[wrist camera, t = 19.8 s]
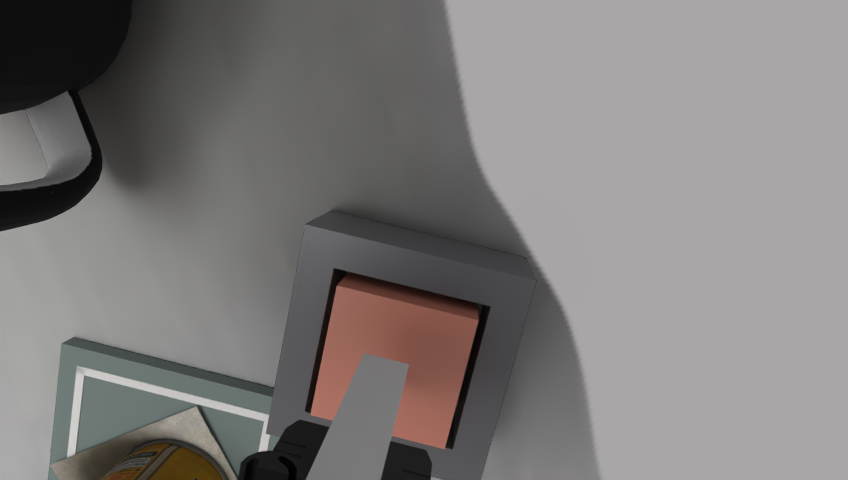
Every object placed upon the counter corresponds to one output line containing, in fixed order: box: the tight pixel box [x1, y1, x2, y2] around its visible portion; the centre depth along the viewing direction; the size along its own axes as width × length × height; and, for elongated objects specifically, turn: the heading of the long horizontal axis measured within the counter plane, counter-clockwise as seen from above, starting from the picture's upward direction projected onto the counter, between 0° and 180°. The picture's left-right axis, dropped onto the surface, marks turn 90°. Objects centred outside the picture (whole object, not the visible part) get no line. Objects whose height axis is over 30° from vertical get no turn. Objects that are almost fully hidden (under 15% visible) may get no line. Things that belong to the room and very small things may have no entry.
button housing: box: [266, 211, 537, 480], centre depth 24 cm, size 9×9×4 cm
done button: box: [310, 272, 479, 449], centre depth 22 cm, size 5×5×3 cm
